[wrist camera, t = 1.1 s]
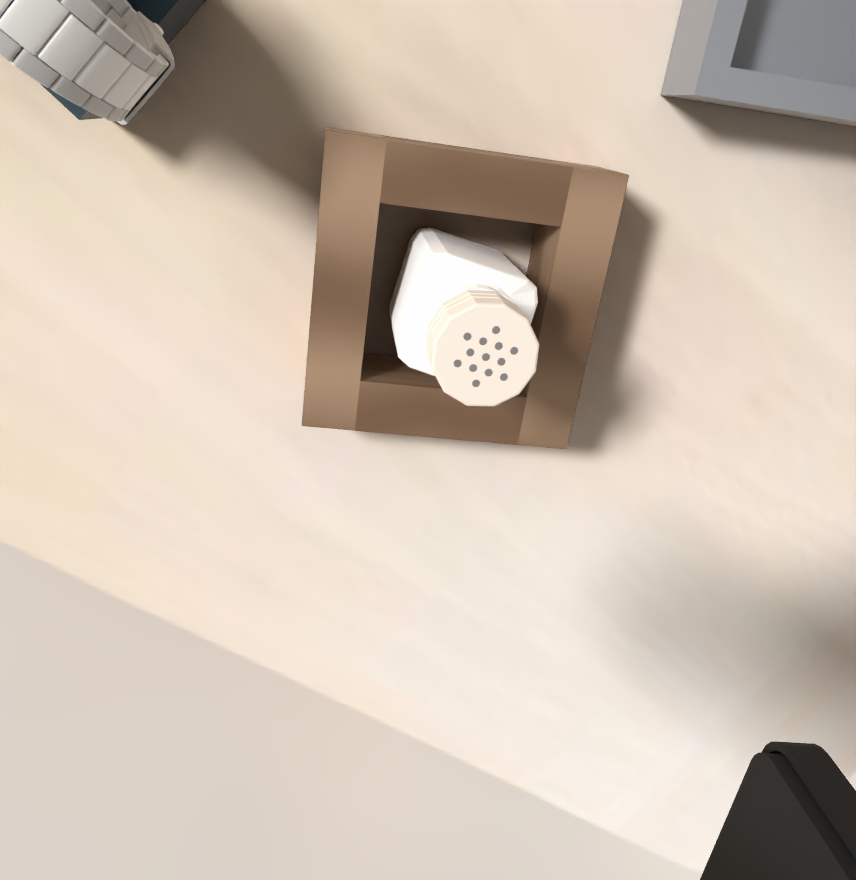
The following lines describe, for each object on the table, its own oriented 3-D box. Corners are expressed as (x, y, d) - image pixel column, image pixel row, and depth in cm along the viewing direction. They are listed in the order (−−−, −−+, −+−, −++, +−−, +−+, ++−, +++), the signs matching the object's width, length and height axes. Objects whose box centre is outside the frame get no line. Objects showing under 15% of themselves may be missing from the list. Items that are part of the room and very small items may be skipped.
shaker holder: (327, 127, 28) (325, 130, 25) (598, 166, 30) (629, 175, 26) (305, 393, 32) (301, 425, 29) (545, 415, 34) (566, 449, 30)
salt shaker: (475, 344, 32) (523, 435, 23) (383, 316, 31) (399, 400, 22) (509, 252, 31) (574, 312, 22) (414, 220, 30) (443, 270, 21)
